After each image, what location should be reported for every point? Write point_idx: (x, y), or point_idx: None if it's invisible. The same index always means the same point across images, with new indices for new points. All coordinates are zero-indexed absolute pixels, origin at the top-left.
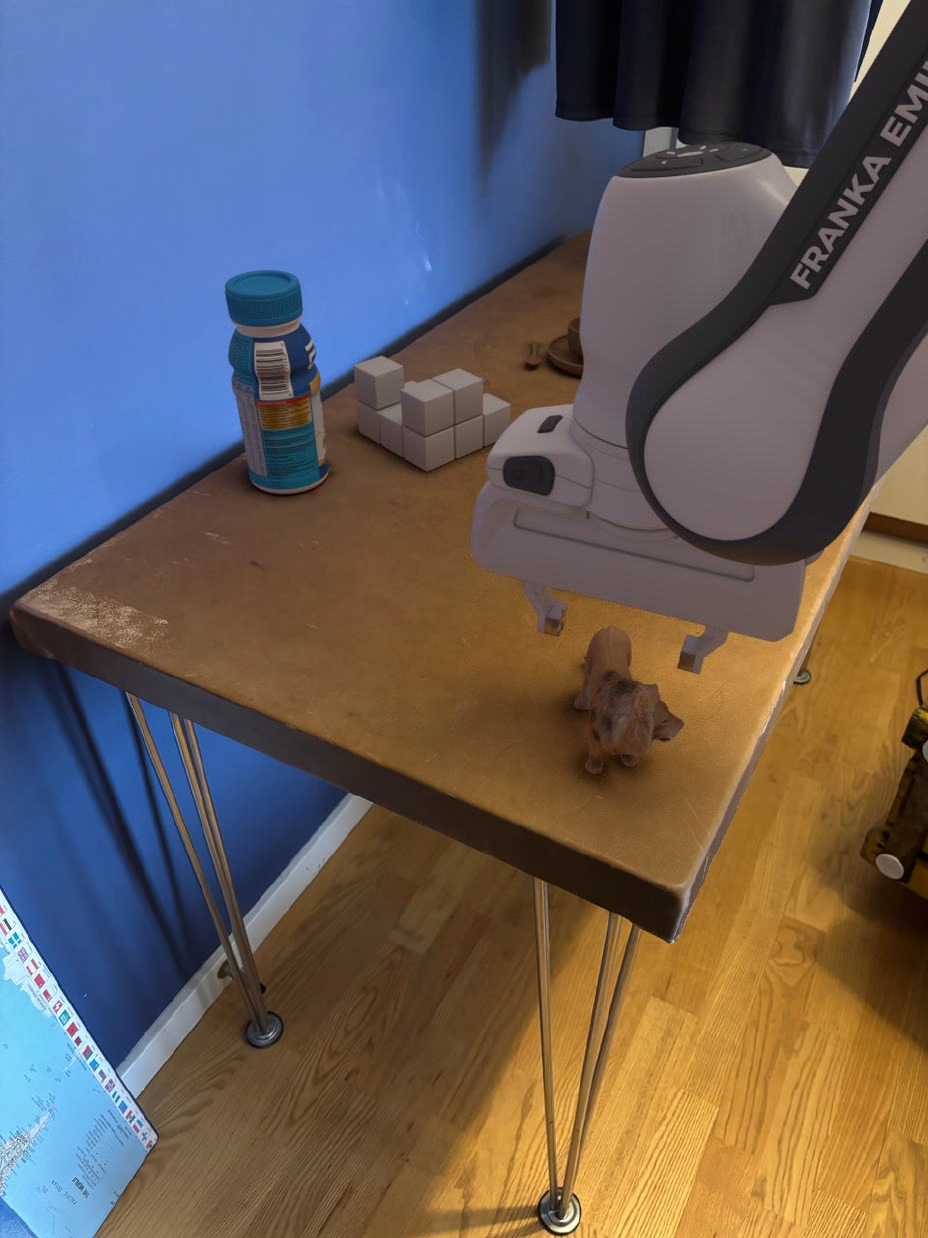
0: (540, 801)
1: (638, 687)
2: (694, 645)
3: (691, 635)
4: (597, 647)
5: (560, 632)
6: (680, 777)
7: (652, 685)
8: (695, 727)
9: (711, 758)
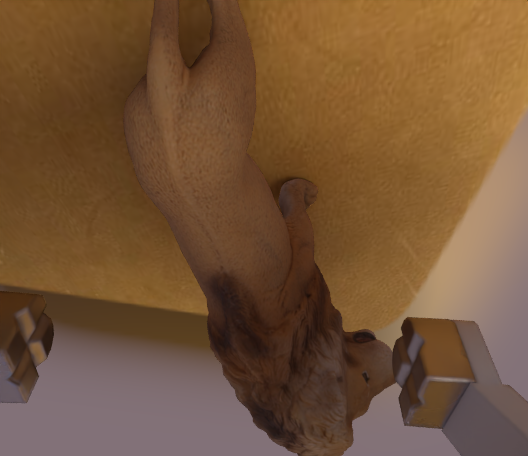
0: (187, 283)
1: (303, 447)
2: (448, 408)
3: (443, 380)
4: (158, 205)
5: (49, 323)
6: (391, 198)
7: (333, 421)
8: (427, 69)
9: (453, 144)
